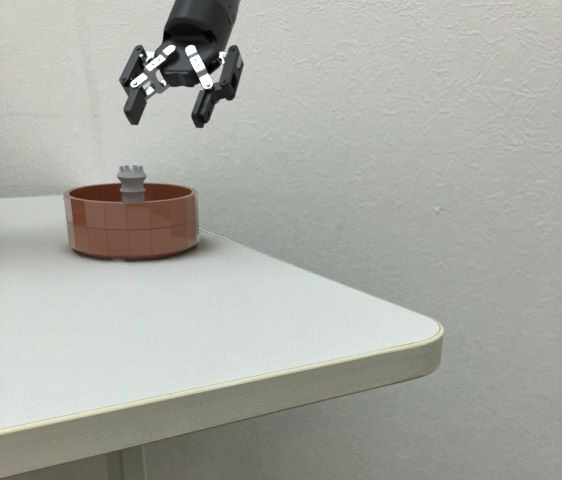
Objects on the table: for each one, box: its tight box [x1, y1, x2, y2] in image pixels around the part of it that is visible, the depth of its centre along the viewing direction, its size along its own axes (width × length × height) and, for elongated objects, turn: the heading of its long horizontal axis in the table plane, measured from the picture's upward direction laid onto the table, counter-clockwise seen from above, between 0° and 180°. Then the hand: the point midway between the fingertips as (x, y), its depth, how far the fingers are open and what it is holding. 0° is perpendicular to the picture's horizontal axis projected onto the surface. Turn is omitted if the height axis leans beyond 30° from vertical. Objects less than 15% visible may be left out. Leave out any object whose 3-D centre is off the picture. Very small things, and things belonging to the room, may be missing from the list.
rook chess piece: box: [116, 164, 148, 202], centre depth 73 cm, size 4×4×8 cm
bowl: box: [63, 182, 200, 261], centre depth 73 cm, size 14×14×6 cm
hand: (163, 121), depth 76 cm, fingers open, 8 cm apart
